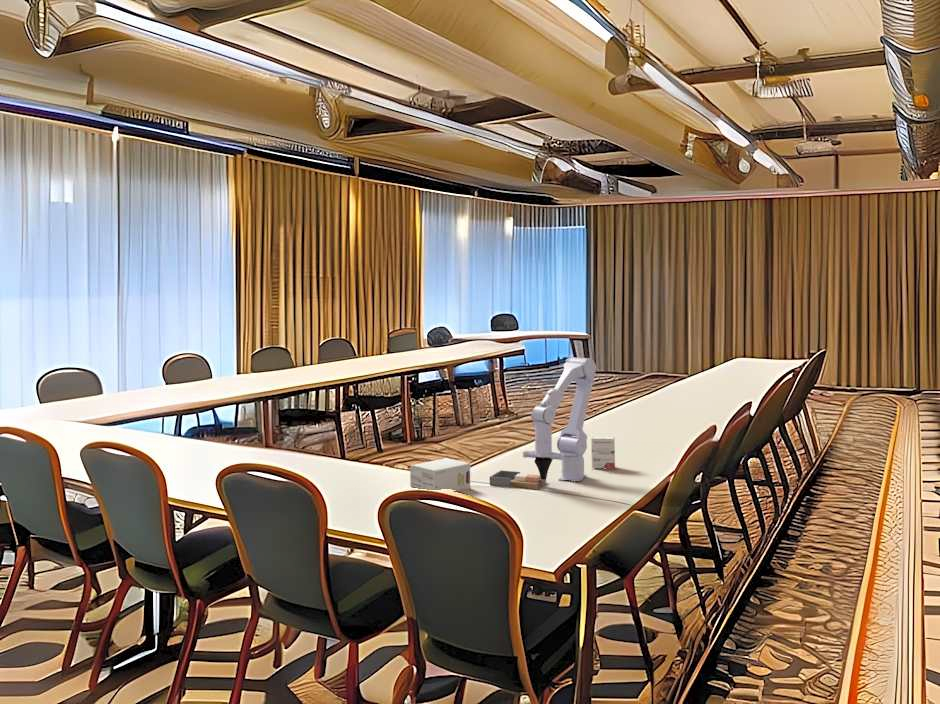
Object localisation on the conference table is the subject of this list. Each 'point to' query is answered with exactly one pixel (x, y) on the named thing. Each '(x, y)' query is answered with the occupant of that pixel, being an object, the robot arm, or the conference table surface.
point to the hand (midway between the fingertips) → (543, 478)
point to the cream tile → (521, 477)
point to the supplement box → (440, 475)
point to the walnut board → (527, 484)
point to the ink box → (603, 452)
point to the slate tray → (503, 478)
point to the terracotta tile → (533, 478)
